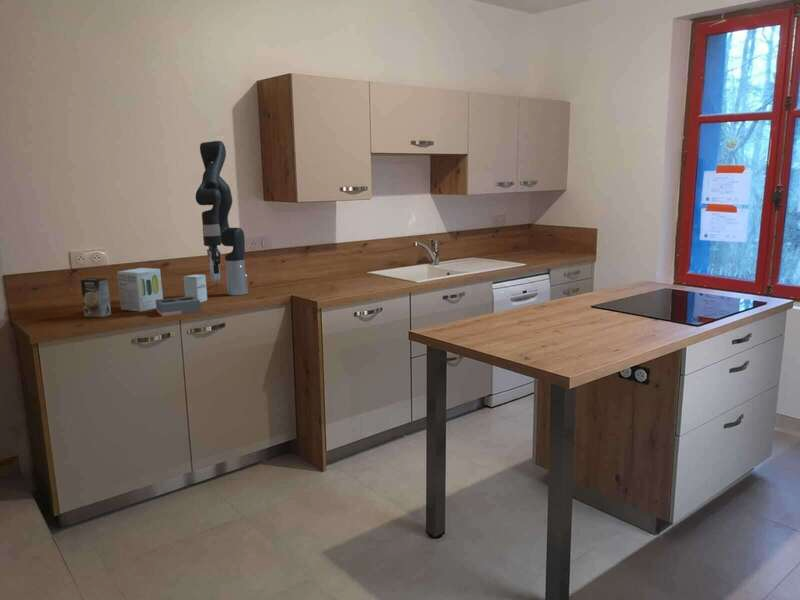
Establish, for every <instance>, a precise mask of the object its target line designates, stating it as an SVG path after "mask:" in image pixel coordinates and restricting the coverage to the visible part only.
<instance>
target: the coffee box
mask: <svg viewBox="0 0 800 600" xmlns="http://www.w3.org/2000/svg"><path fill="white" fill-rule="evenodd" d="M80 286H81V293H82V294H81V295H82V303H83V304H82V305H83V312H84V313H83V315H84V317H88V318H91V317H93V318H104V317H107V316H111V315H112V310H111V300H110V289H109V280H108V278H107V277H105V278H104V277H89V278H83V279H80Z"/></svg>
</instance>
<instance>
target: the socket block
mask: <svg viewBox="0 0 800 600" xmlns="http://www.w3.org/2000/svg"><path fill="white" fill-rule="evenodd" d="M155 309H156V312H157V313H158V314H159V315H160V316H161V317H168V316H175V315H176V316H177V315H184V314H192V313H193V314H194V313H200V312H202V309H201V302H200V300H199V299H197V298H195V297H194V296H187V297H185V296H181V297H179V296H178V297H172V298H170V297H169V298H163V299H160V300H156V308H155Z"/></svg>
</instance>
